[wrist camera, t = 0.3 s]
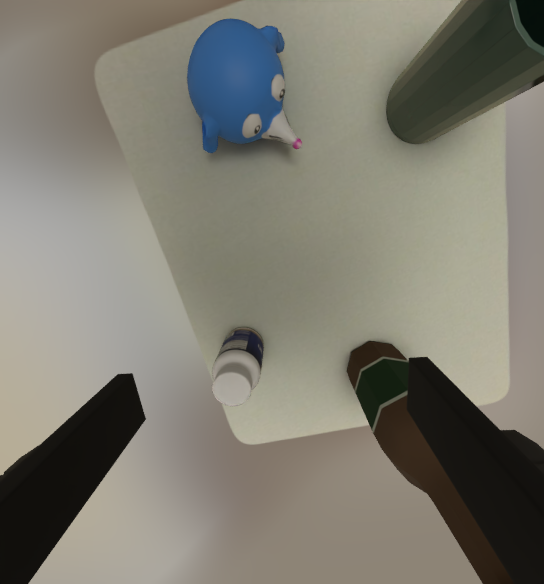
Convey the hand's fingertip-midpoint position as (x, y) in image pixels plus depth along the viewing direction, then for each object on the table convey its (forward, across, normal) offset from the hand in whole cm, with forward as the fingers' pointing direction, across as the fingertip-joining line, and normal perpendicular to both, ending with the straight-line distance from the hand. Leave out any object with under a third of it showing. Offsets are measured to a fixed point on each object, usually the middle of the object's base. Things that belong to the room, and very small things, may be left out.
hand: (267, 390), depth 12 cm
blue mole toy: (+21, -1, +18) cm, 28 cm away
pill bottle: (+21, -6, -8) cm, 23 cm away
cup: (+22, +17, +18) cm, 33 cm away
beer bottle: (+22, +12, -13) cm, 28 cm away
